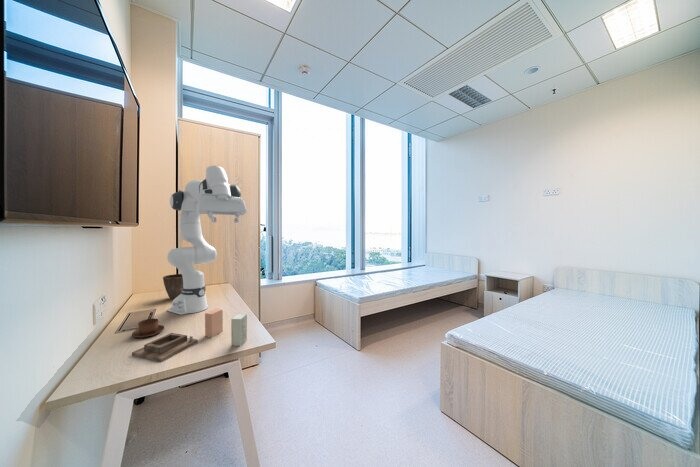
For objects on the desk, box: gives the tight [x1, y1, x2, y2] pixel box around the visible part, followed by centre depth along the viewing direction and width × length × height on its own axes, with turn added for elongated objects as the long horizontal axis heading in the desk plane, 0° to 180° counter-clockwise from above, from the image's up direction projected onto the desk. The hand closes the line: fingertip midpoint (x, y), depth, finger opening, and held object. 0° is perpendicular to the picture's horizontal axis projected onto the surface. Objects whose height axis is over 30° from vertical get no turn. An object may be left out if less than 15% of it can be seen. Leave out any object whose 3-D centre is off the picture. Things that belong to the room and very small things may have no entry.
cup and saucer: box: [131, 318, 165, 338], centre depth 117 cm, size 12×12×6 cm
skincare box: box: [230, 313, 248, 347], centre depth 108 cm, size 6×4×12 cm
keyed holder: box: [131, 332, 199, 363], centre depth 103 cm, size 16×16×4 cm
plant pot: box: [162, 273, 183, 301], centre depth 171 cm, size 15×15×16 cm
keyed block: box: [204, 308, 224, 338], centre depth 117 cm, size 4×6×11 cm, turn 164°
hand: (225, 222), depth 109 cm, fingers open, 8 cm apart
